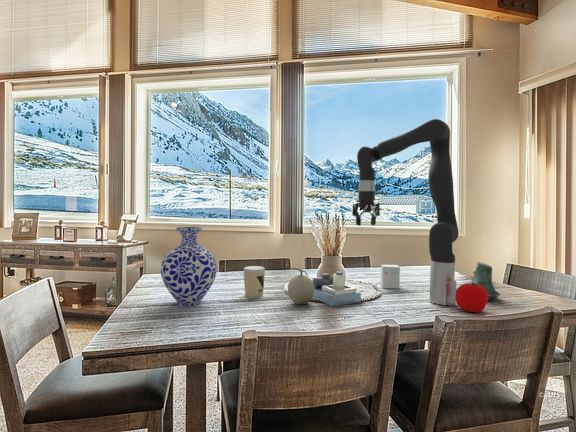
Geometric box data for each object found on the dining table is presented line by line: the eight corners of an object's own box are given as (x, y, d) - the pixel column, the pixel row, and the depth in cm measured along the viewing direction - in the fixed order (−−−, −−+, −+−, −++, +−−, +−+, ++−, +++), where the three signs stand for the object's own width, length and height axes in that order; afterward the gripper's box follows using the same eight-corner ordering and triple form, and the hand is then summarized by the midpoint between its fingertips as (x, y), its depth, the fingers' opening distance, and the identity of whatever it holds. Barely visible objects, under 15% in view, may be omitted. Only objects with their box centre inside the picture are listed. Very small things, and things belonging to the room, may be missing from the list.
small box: (397, 286, 185) (398, 264, 184) (399, 288, 179) (400, 266, 179) (380, 285, 186) (381, 264, 185) (382, 288, 180) (382, 266, 180)
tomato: (469, 316, 138) (470, 286, 137) (447, 307, 149) (448, 279, 148) (495, 314, 141) (497, 284, 141) (472, 305, 152) (473, 278, 152)
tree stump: (452, 290, 181) (464, 254, 178) (498, 307, 169) (511, 270, 166) (441, 295, 166) (454, 257, 163) (490, 315, 154) (504, 274, 151)
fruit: (318, 302, 155) (319, 265, 154) (305, 309, 145) (306, 270, 144) (296, 298, 160) (297, 263, 159) (282, 304, 150) (282, 267, 149)
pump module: (347, 292, 156) (347, 272, 155) (337, 293, 153) (337, 273, 153) (340, 289, 160) (340, 270, 160) (330, 290, 158) (331, 271, 157)
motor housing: (360, 302, 155) (361, 279, 155) (332, 306, 149) (332, 282, 148) (335, 292, 171) (335, 271, 171) (308, 295, 165) (308, 274, 164)
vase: (159, 312, 138) (159, 230, 137) (162, 297, 159) (162, 226, 157) (218, 308, 144) (219, 229, 142) (214, 294, 164) (214, 225, 163)
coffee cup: (261, 298, 159) (261, 270, 158) (240, 297, 161) (240, 269, 160) (267, 293, 168) (267, 266, 167) (247, 291, 170) (247, 265, 169)
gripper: (359, 190, 169) (358, 226, 170) (384, 190, 176) (383, 225, 176) (349, 190, 176) (348, 225, 176) (373, 190, 182) (372, 224, 183)
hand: (365, 225), depth 176 cm, fingers open, 8 cm apart
